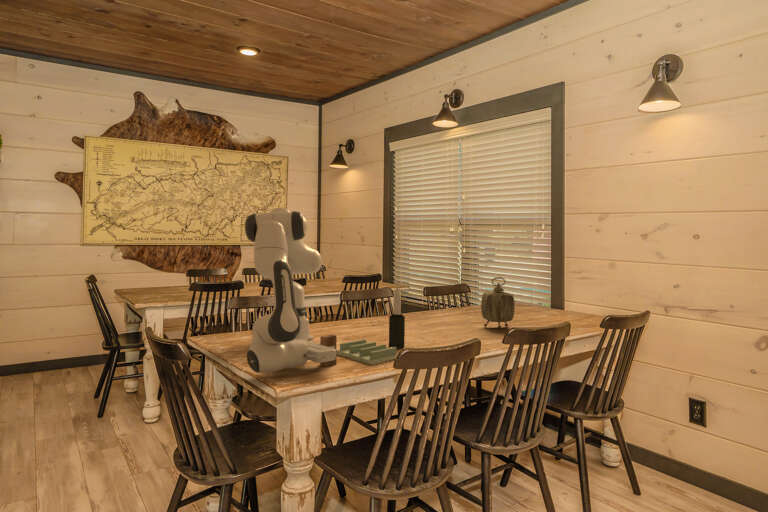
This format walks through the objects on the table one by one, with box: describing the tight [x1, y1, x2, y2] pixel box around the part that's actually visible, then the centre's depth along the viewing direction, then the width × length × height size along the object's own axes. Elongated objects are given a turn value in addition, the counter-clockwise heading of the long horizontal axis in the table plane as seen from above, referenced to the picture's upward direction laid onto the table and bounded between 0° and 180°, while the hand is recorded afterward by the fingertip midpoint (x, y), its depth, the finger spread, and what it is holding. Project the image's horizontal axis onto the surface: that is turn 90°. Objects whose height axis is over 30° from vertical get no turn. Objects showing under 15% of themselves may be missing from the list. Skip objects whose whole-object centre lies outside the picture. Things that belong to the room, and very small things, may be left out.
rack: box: [336, 338, 398, 366], centre depth 179 cm, size 14×20×4 cm
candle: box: [388, 284, 406, 349], centre depth 194 cm, size 5×5×25 cm
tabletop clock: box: [480, 276, 516, 329], centre depth 237 cm, size 14×9×25 cm, turn 97°
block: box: [319, 333, 338, 367], centre depth 167 cm, size 5×2×10 cm, turn 133°
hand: (330, 346), depth 168 cm, fingers closed on block, 2 cm apart
